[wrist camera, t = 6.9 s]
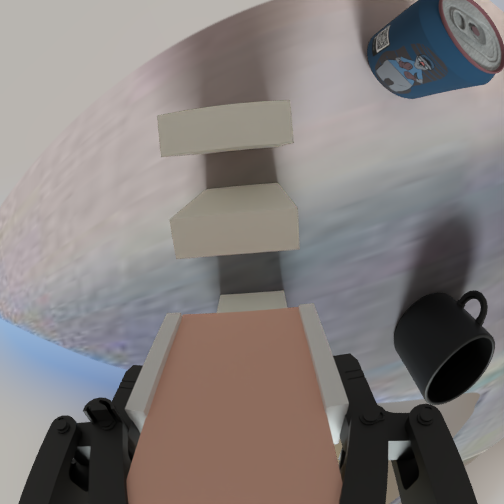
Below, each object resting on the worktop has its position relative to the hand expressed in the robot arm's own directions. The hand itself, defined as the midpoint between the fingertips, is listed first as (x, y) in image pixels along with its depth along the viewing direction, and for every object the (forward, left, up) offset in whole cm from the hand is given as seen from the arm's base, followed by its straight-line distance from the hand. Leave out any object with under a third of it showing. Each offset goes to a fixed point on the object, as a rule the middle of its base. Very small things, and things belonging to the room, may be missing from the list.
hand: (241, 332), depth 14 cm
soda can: (-15, -17, -12) cm, 26 cm away
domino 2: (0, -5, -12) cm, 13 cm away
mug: (-21, +10, -12) cm, 26 cm away
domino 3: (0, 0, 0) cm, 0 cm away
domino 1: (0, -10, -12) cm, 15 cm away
